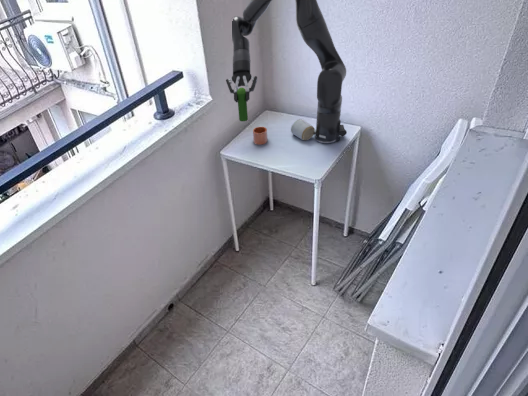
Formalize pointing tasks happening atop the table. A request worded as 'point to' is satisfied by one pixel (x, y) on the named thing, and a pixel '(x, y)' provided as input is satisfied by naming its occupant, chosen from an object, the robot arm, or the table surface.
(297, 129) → the ceramic mug
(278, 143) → the table surface
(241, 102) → the cucumber
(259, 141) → the cup
